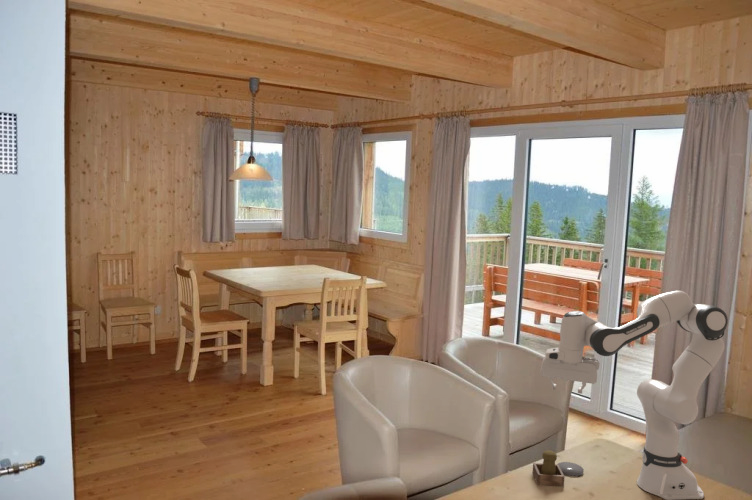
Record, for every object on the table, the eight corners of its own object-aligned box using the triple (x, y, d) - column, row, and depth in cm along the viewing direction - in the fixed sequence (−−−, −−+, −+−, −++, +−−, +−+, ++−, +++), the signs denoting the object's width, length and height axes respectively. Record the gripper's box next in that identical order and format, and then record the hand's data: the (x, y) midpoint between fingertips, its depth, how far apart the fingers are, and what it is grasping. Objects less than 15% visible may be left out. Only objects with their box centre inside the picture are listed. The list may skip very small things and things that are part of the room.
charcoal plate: (579, 465, 247) (579, 462, 247) (586, 477, 237) (586, 474, 237) (554, 463, 247) (554, 461, 247) (560, 475, 237) (560, 473, 237)
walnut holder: (557, 474, 238) (558, 464, 238) (563, 486, 229) (564, 476, 228) (532, 472, 239) (533, 462, 238) (537, 485, 229) (538, 474, 229)
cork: (556, 484, 230) (558, 456, 229) (539, 482, 231) (542, 454, 230) (555, 477, 236) (557, 449, 235) (539, 474, 237) (541, 447, 236)
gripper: (599, 356, 229) (595, 392, 231) (542, 348, 235) (539, 384, 237) (600, 361, 223) (596, 398, 225) (541, 353, 229) (538, 389, 231)
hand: (566, 390), depth 231 cm, fingers open, 8 cm apart
